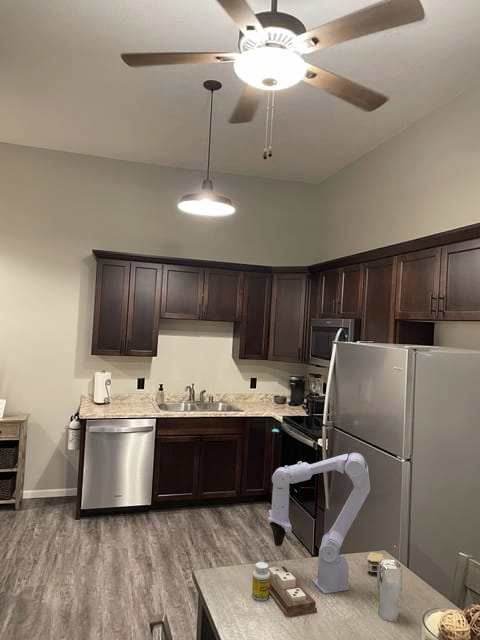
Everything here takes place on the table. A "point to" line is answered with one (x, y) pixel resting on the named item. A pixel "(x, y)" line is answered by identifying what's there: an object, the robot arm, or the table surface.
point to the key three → (295, 595)
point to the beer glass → (389, 588)
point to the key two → (286, 581)
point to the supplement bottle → (261, 582)
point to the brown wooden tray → (285, 602)
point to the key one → (275, 571)
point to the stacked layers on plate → (373, 561)
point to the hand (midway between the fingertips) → (278, 545)
